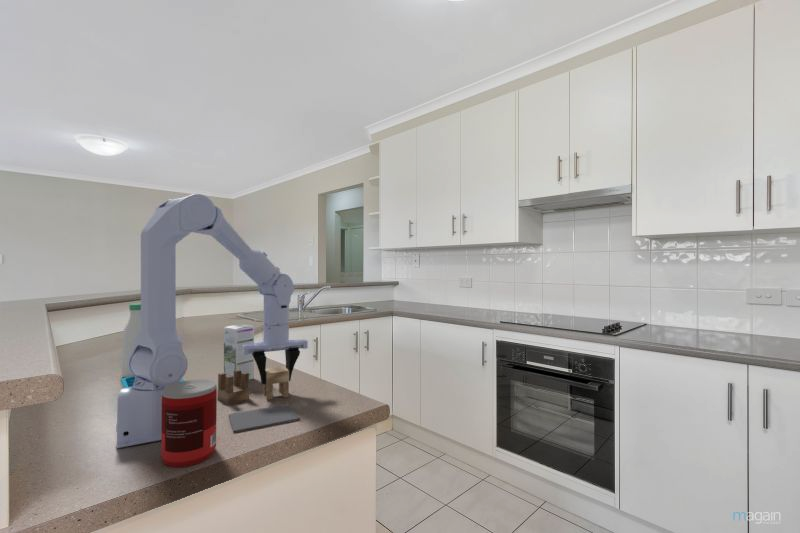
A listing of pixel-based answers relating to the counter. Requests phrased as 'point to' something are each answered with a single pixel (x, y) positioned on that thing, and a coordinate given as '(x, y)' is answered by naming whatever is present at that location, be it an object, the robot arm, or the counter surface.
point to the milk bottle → (130, 336)
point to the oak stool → (276, 381)
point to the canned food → (188, 422)
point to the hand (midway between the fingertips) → (275, 381)
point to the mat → (262, 418)
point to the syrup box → (238, 350)
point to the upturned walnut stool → (233, 387)
